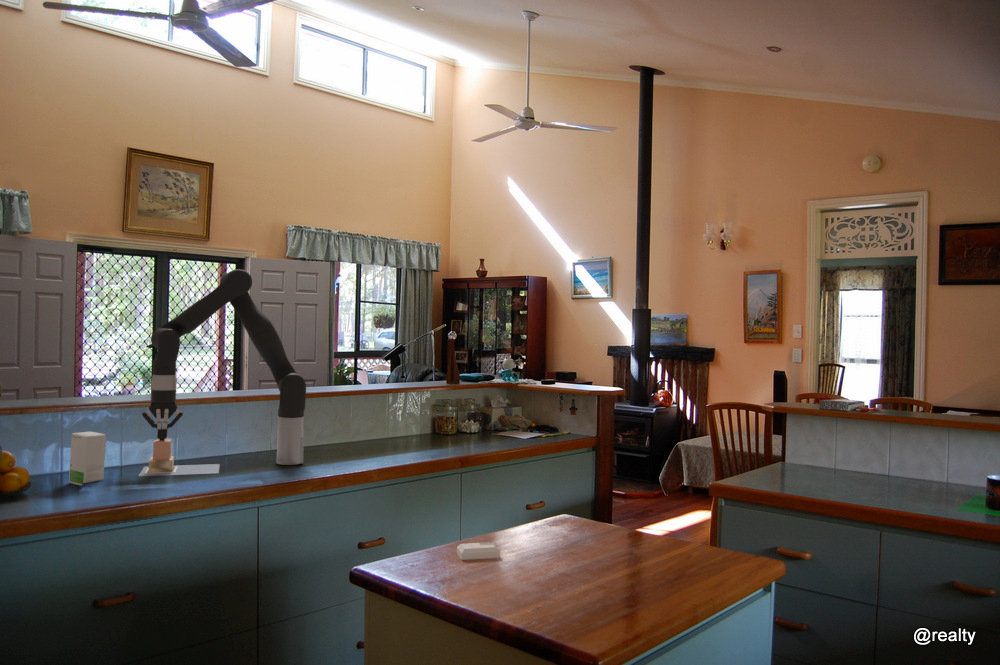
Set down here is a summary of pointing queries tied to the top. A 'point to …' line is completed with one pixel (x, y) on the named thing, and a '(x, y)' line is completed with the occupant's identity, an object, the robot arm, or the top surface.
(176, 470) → the board
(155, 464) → the beech base block
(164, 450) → the terracotta block
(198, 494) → the top surface
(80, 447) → the skincare box
